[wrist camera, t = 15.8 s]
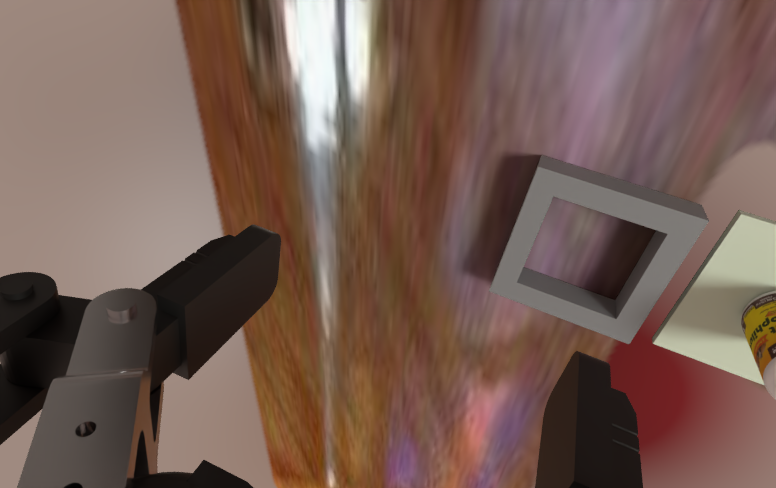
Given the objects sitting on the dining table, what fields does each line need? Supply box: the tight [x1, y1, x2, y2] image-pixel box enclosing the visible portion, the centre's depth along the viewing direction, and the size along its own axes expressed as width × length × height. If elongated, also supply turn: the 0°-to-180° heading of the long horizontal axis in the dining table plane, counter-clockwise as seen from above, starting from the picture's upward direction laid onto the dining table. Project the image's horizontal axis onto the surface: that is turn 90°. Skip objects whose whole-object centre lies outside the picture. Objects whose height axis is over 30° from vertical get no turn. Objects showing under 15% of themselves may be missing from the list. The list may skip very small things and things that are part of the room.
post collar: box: [489, 155, 709, 344], centre depth 42 cm, size 13×13×3 cm
